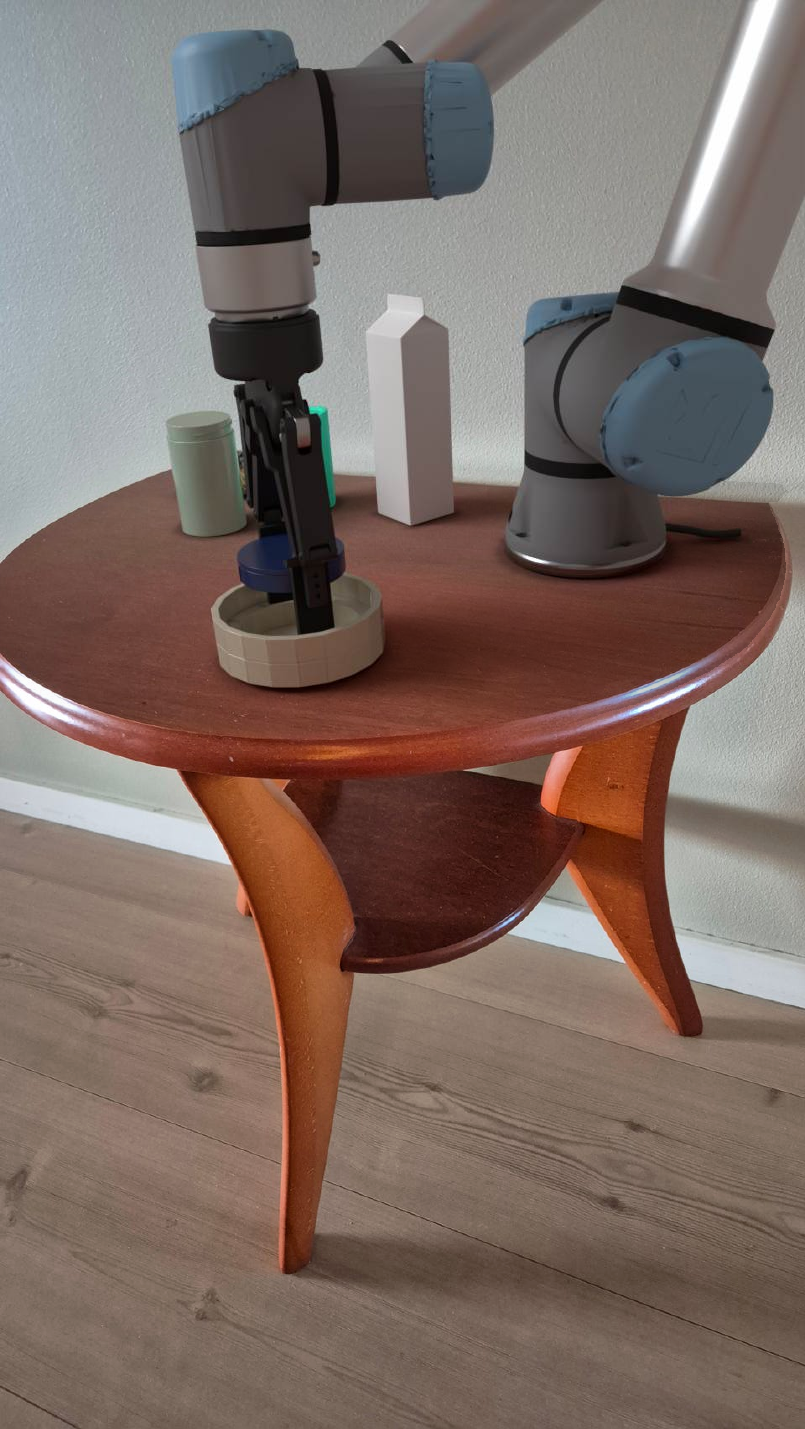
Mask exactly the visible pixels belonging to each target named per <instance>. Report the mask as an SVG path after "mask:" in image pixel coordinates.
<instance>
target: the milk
mask: <svg viewBox="0 0 805 1429" xmlns="http://www.w3.org/2000/svg"><path fill="white" fill-rule="evenodd" d="M386 302H387V309H386V310H385V311H384V313H382V315H381V316H379V317H378V319H376V320H375V322H374V323H373V324H371V326H370V327H368V329H366V330H365V343H366V344H365V345H366V356H367V357H366V358H367V373H368V385H369V386H368V387H369V401H370V415H371V430H372V446H373V456H374V457H373V460H374V472H375V473H374V474H375V486H376V488H375V489H376V501H377V503H376V504H377V513H378V514H379V515H381V516H385V517H387V518H390V519H392V520H394V521H397V522H400V523H402V524H404V525H407V526H410V527H412V526H415V525H418V524H423V523H425V522H428V521H431V520H434V519H438V518H441V517H445V516H448V515H452V514H453V513H455V507H454V506H455V504H454V502H455V501H454V473H453V472H454V471H453V469H454V468H453V441H452V440H453V438H452V436H453V435H452V406H451V404H452V402H451V373H450V371H451V368H450V367H451V366H450V340H449V339H450V338H449V337H450V336H449V328H448V327H446V326H445V325H443V324H441V323H440V322H438V321H437V320H435V319H433V318H432V317H429V316H428V315H426V312H425V311H426V310H425V300H424V298H423V297H422V296H413V295H404V294H396V293H388V294H387V295H386Z"/></svg>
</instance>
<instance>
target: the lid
mask: <svg viewBox="0 0 805 1429" xmlns="http://www.w3.org/2000/svg"><path fill="white" fill-rule="evenodd" d="M335 540H336V547H337V549H338V557H337V559H335V560H330V561H328V567H329V576H330V583H332V582H334V581H335V580H337V579H339V578H340V577H341V576H342V575H343V574H344V572H345V573H346V570H347V565H346V564H347V562H346V552H345V544H344V542H343V541H342V540H341V539H340V538H339V537H337V536H335ZM290 558H292V552H291V547H290V543H289V538H288V534H287V533H280V534H275V535H270V536H266V537H263V538H260V539H259V538H257V539H255V540H252V541H250V542H248V543H246V544H245V545H243V546H242V547H241V548H240V549H239V550H238V552H237V553H236V559H237V561H236V562H237V565H238V566H237V569H238V575H239V581H240V582H241V584H242V583H243V584H244V585H245V586H247V587H249V588H251V589H254V590H258V591H262V592H270V593H291V592H292V584H291V576H290V568H285V566H284V563H283V561H284V560H286V559H290Z"/></svg>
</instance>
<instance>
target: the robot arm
mask: <svg viewBox="0 0 805 1429" xmlns="http://www.w3.org/2000/svg"><path fill="white" fill-rule="evenodd" d="M603 2H605V0H429V1H428V2H427V3H426V4H425V5H424V6H422V7H421V8H420V9H419V10H418V11H417V12H416V13H414V15H412V16H411V17H410V18H409V19H408V20H407V21H406V22H405V23H403V24H402V25H401V26H400V27H399V28H398V29H396V30H395V31H394V32H393V33H392V34H391V35H390V36H388V38H386V39H385V41H384V42H383V43H382V44H381V45H379V47H377V48H376V49H374V50H373V51H372V52H371V53H369V54H368V55H367V57H365V58H364V59H363V60H362V61H360V62H359V64H357V65H356V66H355V67H345V68H344V67H343V68H335V69H323V68H312V67H300V63H299V62H300V61H299V59H298V58H297V57H296V52H295V47H294V46H295V45H294V43H293V42H294V41H293V40H292V38H291V37H290V35H288V34H287V33H286V32H285V31H282V30H277V29H254V30H253V29H231V30H230V29H229V30H218V31H217V30H216V31H208V32H201V33H196V34H191V35H189V36H186V37H184V38H183V39H182V40H180V42H178V43H177V45H176V48H175V49H174V50H173V52H172V54H171V60H170V62H171V71H172V72H171V73H172V82H173V89H174V101H175V110H176V119H177V130H178V137H179V143H180V149H181V156H182V161H183V168H184V174H185V180H186V187H187V193H188V199H189V205H190V206H189V207H190V211H191V212H190V213H191V217H192V218H191V219H192V224H193V231H194V237H195V243H196V244H194V246H195V253H196V259H197V260H196V261H197V266H198V272H199V279H200V285H201V293H202V298H203V305H204V308H205V309H206V310H208V311H209V312H211V313H214V317H212V318H211V319H210V320H209V321H210V322H209V323H208V324H207V328H208V334H209V341H210V349H211V356H212V363H213V368H214V371H215V373H216V374H217V375H218V376H219V377H221V378H224V379H226V380H228V381H233V382H234V381H235V382H244V383H239V384H237V383H236V384H234V385H233V395H234V398H235V403H236V409H237V415H238V422H239V434H240V442H241V444H240V445H241V451H242V454H243V464H244V474H245V484H246V494H245V495H246V498H245V500H246V504H247V506H248V508H249V509H253V511H252V515H253V516H252V517H253V519H254V520H255V522H256V523H257V524H259V525H256V528H257V535H258V539H260V538H263V537H266V536H270V535H275V534H280V533H287V534H288V538H289V543H290V547H291V552H292V558H290V559H286V560H284V561H283V563H284V566H285V568H290V576H291V584H292V592H291V593H270V592H266V594H267V601H268V603H269V604H270V605H272V604H276V603H281V602H286V601H290V600H293V601H294V609H295V617H296V625H297V633H298V635H303V634H310V633H317V632H322V631H325V630H329V629H332V628H335V625H334V615H333V605H332V596H331V586H330V576H329V567H328V561H330V560H335V559H337V557H338V549H337V547H336V540H335V537H336V532H335V526H334V521H333V513H332V507H331V506H330V500H329V493H328V486H327V479H326V473H325V466H324V459H323V453H322V437H321V419H320V418H319V415H318V414H317V413H314V414H310V411H309V406H310V405H309V403H308V402H309V401H308V400H307V399H306V398H303V395H302V390H301V386H300V379H301V378H302V376H304V375H305V374H311V373H313V372H316V371H318V370H319V369H320V368H321V367H322V366H323V363H324V351H323V350H324V349H323V339H322V330H321V320H320V315H319V314H318V313H317V311H316V310H315V309H312V308H310V307H309V305H311V304H313V303H314V302H315V301H316V299H318V298H317V297H318V296H317V295H318V294H317V284H316V276H315V269H314V267H317V266H319V265H320V264H321V254H320V253H319V252H318V250H313V244H312V242H313V241H312V226H311V207H317V206H318V207H319V206H321V207H330V206H334V205H343V204H344V205H345V204H346V205H347V204H363V203H364V204H365V203H384V202H385V203H386V202H397V201H411V200H425V199H433V201H440V200H441V199H443V198H445V197H446V198H447V197H454V196H461V195H469V194H473V193H475V192H477V191H478V190H479V189H480V188H481V187H482V186H483V185H484V184H485V182H486V180H487V177H488V176H489V173H490V170H491V164H492V159H493V153H494V143H495V142H494V141H495V119H494V118H495V117H494V107H493V106H494V105H493V101H492V100H493V99H492V96H494V94H496V93H497V92H498V91H500V90H501V89H502V88H503V87H504V86H506V84H507V83H509V82H510V81H511V80H512V79H514V78H515V77H516V76H517V75H518V74H519V73H520V72H522V71H523V70H524V69H525V68H526V67H527V66H529V65H530V64H531V63H532V62H534V61H535V60H536V59H537V58H538V57H539V56H540V55H542V54H543V53H544V52H545V51H547V50H548V48H550V47H551V46H552V45H554V44H555V43H556V42H557V41H559V40H560V39H561V38H562V37H563V36H564V35H565V34H567V33H568V32H569V31H570V30H572V28H574V27H575V26H576V25H577V24H578V23H580V22H582V20H583V19H584V18H585V17H587V16H588V15H589V14H590V13H591V12H592V11H594V10H595V9H596V8H597V7H599V5H601V4H602V3H603ZM726 39H727V40H726V42H725V45H724V48H723V51H722V54H721V56H720V60H719V63H718V66H717V68H716V72H715V75H714V78H713V80H712V83H711V86H710V89H709V92H708V94H707V98H706V101H705V104H704V107H703V110H702V112H701V116H700V118H699V121H698V125H697V126H696V130H695V133H694V136H693V139H692V141H691V145H690V148H689V151H688V153H687V156H686V159H685V161H684V165H683V168H682V171H681V174H680V177H679V179H678V181H677V182H678V183H677V186H676V189H675V191H674V195H673V197H672V200H671V204H670V206H669V209H668V211H667V215H666V218H665V220H664V224H663V227H662V230H661V232H660V236H659V239H658V241H657V244H656V247H655V250H654V253H653V256H652V258H651V260H649V262H648V264H647V265H646V266H644V267H641V269H639V270H637V271H635V272H634V273H632V274H631V275H629V276H628V277H626V278H624V279H623V281H622V283H621V285H620V289H619V291H611V292H609V291H608V292H601V293H598V292H597V293H588V294H576V295H567V296H556V297H547V298H540V299H538V300H536V301H534V302H533V303H532V304H530V306H529V308H528V310H527V313H526V317H525V332H524V335H523V339H522V346H523V348H524V370H523V371H524V375H523V376H524V377H523V378H524V383H523V384H524V388H523V390H524V392H523V394H524V396H523V397H524V401H523V402H524V405H523V408H524V412H523V414H524V418H523V419H524V421H523V422H524V424H523V425H524V426H523V427H524V428H523V429H524V430H523V431H524V432H523V433H524V434H523V435H524V436H523V437H524V438H523V439H524V440H523V443H524V445H523V446H524V447H523V448H524V449H523V450H524V452H523V453H524V455H523V456H524V457H523V474H522V477H521V478H520V479H521V480H520V482H519V486H518V489H517V492H516V495H515V498H514V501H513V503H512V506H511V508H510V509H509V513H508V517H507V519H506V520H507V521H506V525H505V533H504V553H505V554H506V556H507V558H509V559H510V561H512V562H513V563H515V564H517V565H518V566H520V567H523V568H525V569H527V570H530V571H533V572H537V573H540V574H545V575H550V576H556V577H565V578H582V579H583V578H584V579H585V578H587V579H589V578H591V579H592V578H594V579H595V578H606V577H617V576H622V575H628V574H631V573H635V572H639V571H641V570H644V569H647V568H650V567H651V566H653V565H655V564H656V563H658V562H659V561H660V560H661V559H662V558H663V557H664V556H665V553H666V547H667V546H666V545H667V532H668V533H675V534H684V535H689V536H690V535H691V536H696V537H701V538H706V539H719V540H720V539H731V538H732V539H733V538H741V537H742V529H741V528H731V529H721V530H720V529H717V530H716V529H708V528H707V529H706V528H701V527H697V526H692V525H686V524H685V525H684V524H677V523H669V522H665V518H664V515H663V511H662V507H661V502H660V499H659V496H663V497H685V496H692V495H697V494H701V493H703V492H705V491H708V490H710V488H712V487H714V486H716V485H718V484H719V483H721V482H725V481H726V480H728V479H729V478H731V477H733V475H734V474H736V473H737V472H738V471H739V470H740V469H741V468H743V467H744V466H745V465H746V464H747V463H748V461H749V460H750V459H751V458H752V456H753V455H754V454H755V453H756V451H757V450H758V449H759V448H758V447H760V444H761V443H762V441H763V440H764V438H765V435H766V433H767V431H768V428H769V426H770V423H771V419H772V414H773V409H774V389H773V388H772V387H771V384H770V379H771V378H770V377H771V375H770V373H769V370H768V368H767V366H766V365H765V363H764V358H765V356H766V353H767V351H768V348H769V346H770V343H771V341H772V339H773V336H774V333H775V331H776V328H777V322H776V320H775V317H774V315H773V313H772V311H771V308H770V305H769V303H768V297H767V294H768V291H769V288H770V285H771V283H772V281H773V278H774V276H775V272H776V270H777V268H778V265H779V263H780V261H781V258H782V255H783V252H784V250H785V249H786V248H785V247H786V245H787V242H788V240H789V238H790V235H791V233H792V230H793V227H794V224H795V223H796V220H797V217H798V214H799V213H800V209H801V207H802V204H803V202H804V200H805V0H740V2H739V4H738V8H737V11H736V12H735V16H734V19H733V22H732V25H731V27H730V30H729V34H728V37H727V38H726ZM283 519H284V520H283Z"/></svg>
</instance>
